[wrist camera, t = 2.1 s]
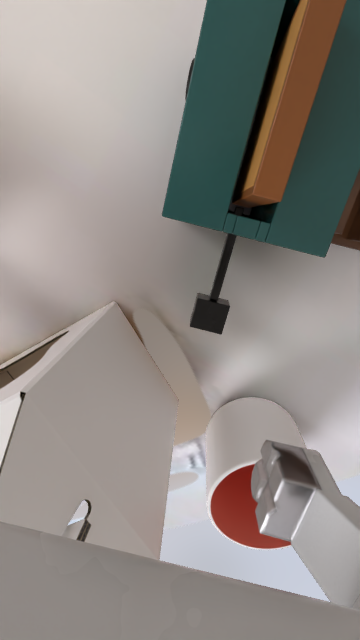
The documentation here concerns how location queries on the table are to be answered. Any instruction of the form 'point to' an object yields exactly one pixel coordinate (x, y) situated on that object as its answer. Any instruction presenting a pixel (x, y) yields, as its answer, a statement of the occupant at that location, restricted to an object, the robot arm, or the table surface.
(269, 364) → the table surface
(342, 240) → the toast rack
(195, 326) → the carriage
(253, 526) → the cup
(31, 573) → the robot arm
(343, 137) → the toaster
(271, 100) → the toast
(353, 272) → the table surface
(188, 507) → the table surface
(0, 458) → the gable box
